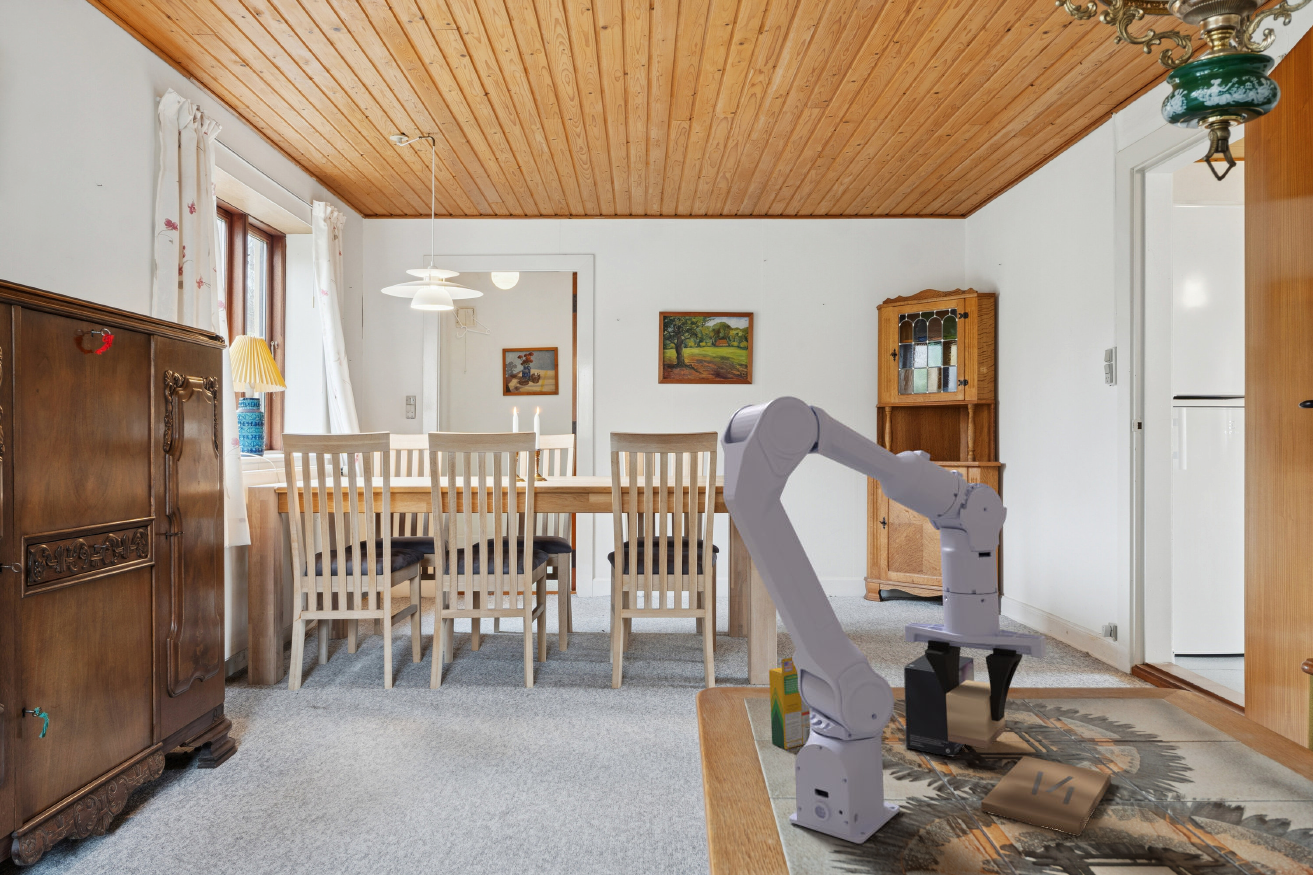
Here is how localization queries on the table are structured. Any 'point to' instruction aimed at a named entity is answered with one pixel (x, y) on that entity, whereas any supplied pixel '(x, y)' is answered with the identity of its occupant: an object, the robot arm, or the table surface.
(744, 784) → the table surface
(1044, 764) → the board
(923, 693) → the small box
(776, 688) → the crayon box
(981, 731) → the block
